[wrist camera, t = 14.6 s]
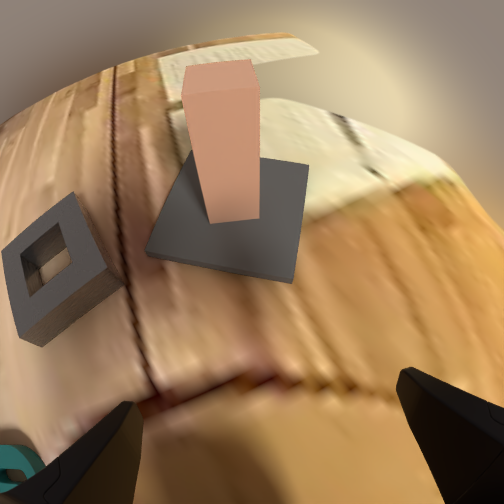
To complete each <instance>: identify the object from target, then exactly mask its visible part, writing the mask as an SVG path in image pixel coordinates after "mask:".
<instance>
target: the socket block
mask: <svg viewBox="0 0 504 504" xmlns="http://www.w3.org/2000/svg"><path fill="white" fill-rule="evenodd" d="M66 247H67V249H68V252H69V254H70V257H71V260H72V262H73V263H71V264H70V265H69V266H67V267H66V268H65V269H64V270H62V271H61V272H60V273H59V274H57V275H56V276H55V277H54V278H53V279H51V280H50V281H49V282H48V283H46V284H45V285H44V286H43V284H42V281H41V277H40V274H39V269H40V268H41V267H42V266H43V265H45V264H46V263H47V262H48V261H49V260H51V259H52V258H53V257H54V256H55V255H57V254H58V253H59V252H60V251H62V250H63V249H64V248H66ZM1 253H2V260H3V267H4V274H5V280H6V285H7V290H8V295H9V300H10V305H11V309H12V313H13V317H14V321H15V325H16V329H17V332H18V336H19V338H21V339H23V340H25V341H28V342H30V343H32V344H35V345H37V346H40V347H43V346H44V345H46V344H47V343H48V342H49V341H51V340H52V339H53V338H54V337H56V336H57V335H58V334H59V333H61V332H62V331H63V330H65V329H66V328H67V327H68V326H70V325H71V324H72V323H74V322H75V321H76V320H77V319H79V318H80V317H81V316H83V315H84V314H85V313H87V312H88V311H89V310H91V309H92V308H93V307H94V306H96V305H97V304H98V303H100V302H101V301H102V300H104V299H105V298H107V297H108V296H109V295H111V294H112V293H113V292H115V291H116V290H117V289H119V288H120V287H121V286H123V285H124V283H123V281H122V279H121V278H120V276H119V274H118V272H117V270H116V268H115V267H114V265H113V263H112V261H111V259H110V257H109V255H108V253H107V251H106V249H105V247H104V245H103V243H102V241H101V239H100V237H99V235H98V233H97V231H96V229H95V227H94V224H93V222H92V220H91V218H90V216H89V214H88V211H87V210H86V208H85V207H84V206H83V204H82V203H81V201H80V200H79V199H78V197H77V196H76V194H75V193H74V191H73V192H72V193H70V194H69V195H67V196H66V197H65V198H63V199H62V200H61V201H59V202H58V203H57V204H56V205H54V206H53V207H52V208H50V209H49V210H48V211H47V212H45V213H44V214H43V215H42V216H40V217H39V218H38V219H37V220H36V221H34V222H33V223H32V224H31V225H30V226H29V227H27V228H26V229H25V230H24V231H23V232H22V233H21V234H19V235H18V236H17V237H16V238H15V239H14V240H13V241H12V242H11V243H9V244H8V245H7V246H6V247H5V248H4V249H3V250H2V251H1Z"/></svg>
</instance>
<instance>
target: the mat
mask: <svg viewBox="0 0 504 504" xmlns="http://www.w3.org/2000/svg"><path fill="white" fill-rule="evenodd" d="M308 171H309V165H306V164H300V163H294V162H288V161H281V160H275V159H268V158H260V199H259V219H249V220H240V221H231V222H222V223H213V224H210V222H209V218H208V214H207V210H206V206H205V201H204V197H203V193H202V189H201V184H200V180H199V176H198V171H197V167H196V163H195V158H194V154H193V150H191V152H190V153H189V155H188V157H187V159H186V161H185V163H184V165H183V167H182V169H181V171H180V173H179V175H178V177H177V179H176V181H175V183H174V185H173V187H172V190H171V192H170V194H169V196H168V198H167V200H166V202H165V204H164V207H163V209H162V211H161V213H160V215H159V218H158V220H157V222H156V224H155V227H154V229H153V231H152V234H151V236H150V238H149V241H148V243H147V246H146V248H145V250H144V251H145V252H146V254H147V255H148V256H151V257H156V258H160V259H165V260H170V261H175V262H180V263H185V264H190V265H195V266H200V267H205V268H210V269H215V270H220V271H225V272H231V273H236V274H241V275H246V276H252V277H257V278H263V279H268V280H273V281H279V282H285V283H290V284H292V282H293V278H294V271H295V265H296V259H297V252H298V246H299V239H300V232H301V225H302V218H303V210H304V203H305V195H306V187H307V179H308Z"/></svg>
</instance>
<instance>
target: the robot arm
mask: <svg viewBox="0 0 504 504" xmlns="http://www.w3.org/2000/svg"><path fill="white" fill-rule="evenodd" d="M396 392H397V395H398V397H399V400H400V403H401V405H402V408H403V411H404V413H405V416H406V419H407V422H408V424H409V427H410V429H411V431H412V433H413V435H414V437H415V439H416V441H417V443H418V445H419V447H420V449H421V451H422V453H423V456H424V458H425V460H426V462H427V464H428V466H429V468H430V471H431V473H432V475H433V477H434V479H435V482H436V484H437V486H438V488H439V491H440V493H441V495H442V498H443V500H444V502H445V504H504V408H503V407H500V406H498V405H495V404H493V403H490V402H487V401H486V400H483V399H481V398H479V397H477V396H474V395H472V394H470V393H468V392H465V391H463V390H461V389H459V388H457V387H454V386H452V385H450V384H448V383H446V382H444V381H441V380H439V379H437V378H435V377H433V376H431V375H428V374H426V373H424V372H422V371H420V370H418V369H416V368H414V367H408V368H405V369H402V370H401V371H400V374H399V378H398V381H397V385H396ZM142 433H143V417H142V415H141V413H140V411H139V409H138V407H137V405H136V403H135V402H133V401H123V402H121V403H120V404H119V405H118V406H117V407H116V408H114V409H113V410H112V411H111V412H110V413H109V414H108V415H106V416H105V417H104V418H103V419H102V420H101V421H99V422H98V423H97V424H96V425H95V426H94V427H93V428H91V429H90V430H89V431H88V432H87V433H86V434H84V435H83V436H82V437H81V438H80V439H78V440H77V441H76V442H75V443H74V444H73V445H71V446H70V447H69V448H68V449H67V450H65V451H64V452H63V453H62V454H61V455H60V456H59V457H57V458H56V459H55V460H53V461H52V462H51V463H50V464H48V465H47V466H46V467H45V468H43V469H42V470H41V471H39V472H38V473H36V474H35V475H33V476H32V477H30V478H29V479H27V480H25V481H24V482H22V483H20V484H19V485H17V486H16V487H14V488H12V489H10V490H9V491H6V492H2V493H0V504H133V498H134V492H135V486H136V481H137V475H138V470H139V465H140V458H141V446H142Z"/></svg>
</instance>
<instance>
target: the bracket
mask: <svg viewBox="0 0 504 504" xmlns="http://www.w3.org/2000/svg"><path fill="white" fill-rule="evenodd" d="M45 467H46V466H45V464H44V463H43V461H42V460H41V459H40V457H39V456H38V455H37V454H36V453H35V452H34V451H32V450H31V449H30V448H28V447H26V446H23V445H0V493H2V492H6V491H9V490H10V489H12V488H14V487H16V486H17V485H19V484H20V483H22V482H15V481H11V480H10V479H9V478H8V476H7V474H6V469H20V470H22V471H23V472H24V474H25V475H26V477H27V479H29V478H30V477H32V476H33V475H35V474H36V473H38V472H39V471H41V470H42V469H43V468H45Z"/></svg>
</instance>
